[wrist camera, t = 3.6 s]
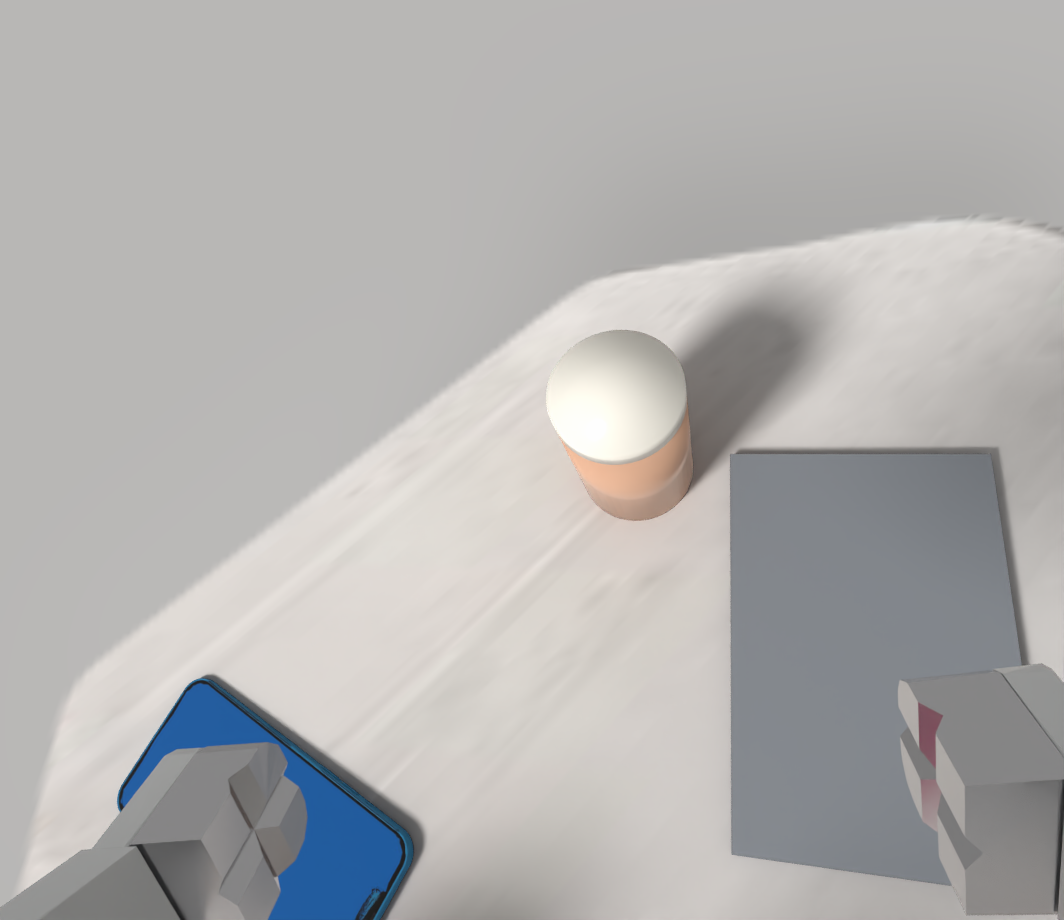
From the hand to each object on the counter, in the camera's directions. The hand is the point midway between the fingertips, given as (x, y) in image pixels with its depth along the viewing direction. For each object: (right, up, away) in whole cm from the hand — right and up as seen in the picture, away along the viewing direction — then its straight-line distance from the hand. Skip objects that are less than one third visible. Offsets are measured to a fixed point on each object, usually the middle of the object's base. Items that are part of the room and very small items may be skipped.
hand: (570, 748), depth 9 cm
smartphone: (-13, -14, +25) cm, 31 cm away
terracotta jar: (+5, +3, +26) cm, 27 cm away
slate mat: (+14, -4, +21) cm, 25 cm away
